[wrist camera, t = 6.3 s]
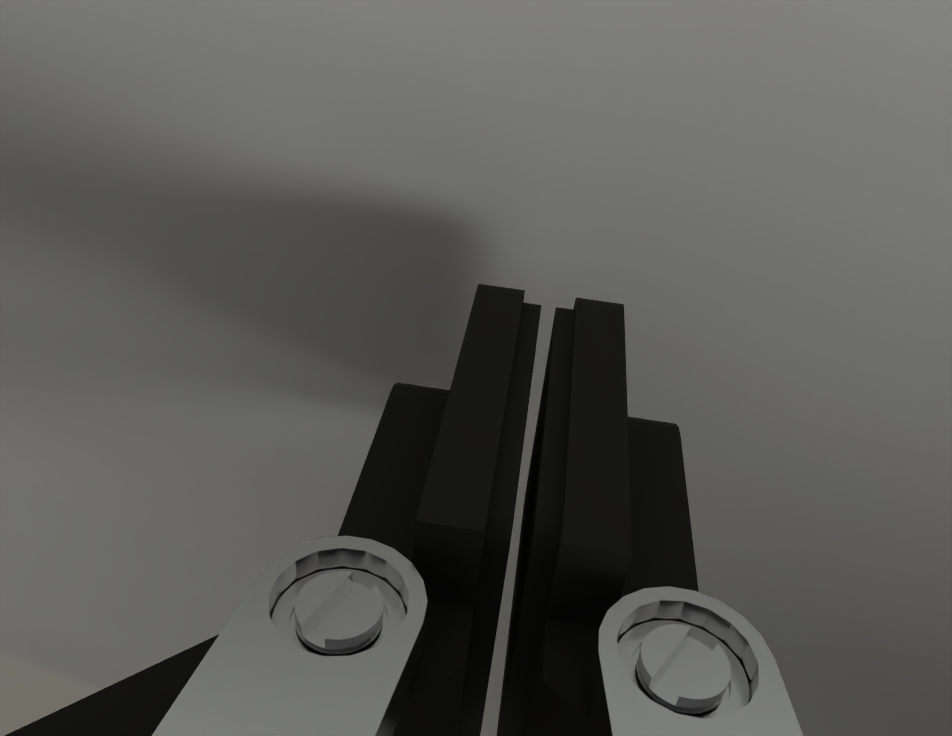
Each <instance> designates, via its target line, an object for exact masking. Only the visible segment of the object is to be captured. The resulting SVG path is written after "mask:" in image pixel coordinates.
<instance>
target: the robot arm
mask: <svg viewBox="0 0 952 736" xmlns="http://www.w3.org/2000/svg"><path fill="white" fill-rule="evenodd" d="M524 293H525V290H518V289H511V288H504V287H497V286H490V285H482V284H478V287H477V291H476V295H475V298H474V302H473V306H472V310H471V313H470V317H469V321H468V325H467V328H466V332H465V336H464V340H463V343H462V347H461V351H460V355H459V358H458V362H457V366H456V370H455V374H454V377H453V381H452V385H451V389H450V390H444V389H437V388H430V387H423V386H417V385H410V384H403V383H396V384H394V386H393V388H392V390H391V392H390V395H389V398H388V401H387V403H386V406H385V409H384V411H383V414H382V417H381V420H380V422H379V425H378V428H377V431H376V433H375V436H374V439H373V442H372V444H371V447H370V450H369V452H368V455H367V458H366V461H365V463H364V466H363V469H362V472H361V474H360V477H359V480H358V482H357V485H356V488H355V491H354V493H353V496H352V499H351V502H350V504H349V507H348V510H347V513H346V515H345V518H344V521H343V523H342V526H341V529H340V532H339V534H338V536H335V537H321V538H318V539H315V540H311V541H308V542H305V543H302V544H298V545H296V546H294V547H292V548H291V549H289V550H287V551H286V552H284V553H283V554H281V555H279V556H278V557H276V558H275V559H274V560H273V561H272V562H271V563H270V564H269V565H268V566H267V567H266V568H265V569H264V570H263V571H262V573H261V574H260V575H259V576H258V577H257V579H256V580H255V582H254V583H253V585H252V586H251V588H250V589H249V591H248V592H247V594H246V595H245V597H244V598H243V600H242V601H241V603H240V604H239V606H238V607H237V609H236V610H235V612H234V613H233V615H232V616H231V618H230V619H229V621H228V622H227V624H226V625H225V627H224V628H223V630H222V631H221V633H220V634H219V635H217V636H215V637H213V638H210V639H208V640H206V641H204V642H202V643H200V644H198V645H196V646H193V647H191V648H189V649H187V650H185V651H183V652H181V653H179V654H177V655H174V656H172V657H170V658H168V659H166V660H164V661H162V662H160V663H158V664H155V665H153V666H151V667H149V668H147V669H145V670H143V671H141V672H138V673H136V674H134V675H132V676H130V677H128V678H126V679H124V680H122V681H119V682H117V683H115V684H113V685H111V686H109V687H107V688H105V689H103V690H100V691H98V692H96V693H94V694H92V695H90V696H88V697H86V698H84V699H81V700H79V701H77V702H75V703H73V704H71V705H69V706H67V707H64V708H62V709H60V710H58V711H56V712H54V713H52V714H50V715H48V716H45V717H43V718H41V719H39V720H37V721H35V722H33V723H31V724H29V725H27V726H24V727H22V728H20V729H18V730H16V731H14V732H12V733H9V734H7V735H5V736H480V732H481V726H482V720H483V713H484V707H485V701H486V694H487V688H488V681H489V675H490V669H491V662H492V656H493V650H494V643H495V637H496V630H497V624H498V618H499V611H500V605H501V599H502V592H503V586H504V580H505V573H506V567H507V560H508V554H509V547H510V540H511V533H512V526H513V519H514V512H515V504H516V496H517V489H518V481H519V473H520V465H521V458H522V450H523V442H524V435H525V427H526V419H527V412H528V404H529V396H530V388H531V381H532V373H533V365H534V358H535V350H536V342H537V335H538V327H539V319H540V311H541V305H536V304H529V303H523V301H524ZM497 736H803V733H802V731H801V728H800V725H799V723H798V720H797V717H796V715H795V712H794V709H793V706H792V704H791V701H790V698H789V696H788V693H787V690H786V688H785V685H784V682H783V679H782V677H781V674H780V671H779V669H778V666H777V663H776V660H775V658H774V656H773V654H772V653H771V651H770V649H769V647H768V645H767V644H766V642H765V640H764V638H763V636H762V635H761V634H760V633H759V632H758V631H757V630H756V629H755V628H754V627H753V626H752V625H751V624H750V623H749V622H748V620H747V619H746V618H745V617H744V616H742V615H741V614H739V613H738V612H736V611H735V610H733V609H732V608H730V607H729V606H727V605H726V604H724V603H723V602H721V601H719V600H717V599H714V598H712V597H709V596H707V595H704V594H702V593H699V592H698V583H697V575H696V566H695V558H694V549H693V540H692V532H691V523H690V515H689V506H688V497H687V489H686V480H685V471H684V463H683V454H682V446H681V437H680V432H679V427H678V426H677V425H676V424H673V423H667V422H660V421H653V420H646V419H640V418H633V417H628V413H627V384H626V355H625V325H624V305H623V304H617V303H610V302H603V301H596V300H589V299H582V298H576V300H575V304H574V309H573V310H571V309H564V308H557V307H556V310H555V316H554V322H553V328H552V334H551V340H550V346H549V352H548V359H547V365H546V371H545V377H544V383H543V389H542V395H541V401H540V408H539V414H538V420H537V426H536V432H535V438H534V444H533V450H532V457H531V463H530V469H529V475H528V481H527V487H526V494H525V501H524V509H523V517H522V525H521V534H520V542H519V551H518V559H517V568H516V576H515V585H514V593H513V602H512V610H511V619H510V627H509V636H508V644H507V653H506V661H505V669H504V678H503V686H502V695H501V703H500V712H499V720H498V729H497Z"/></svg>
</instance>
